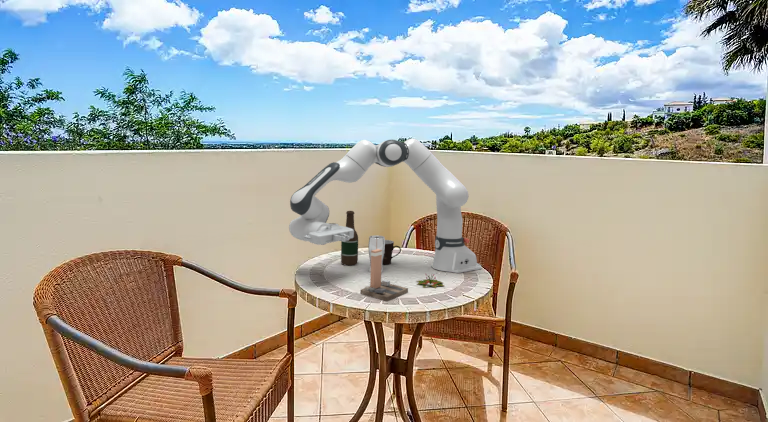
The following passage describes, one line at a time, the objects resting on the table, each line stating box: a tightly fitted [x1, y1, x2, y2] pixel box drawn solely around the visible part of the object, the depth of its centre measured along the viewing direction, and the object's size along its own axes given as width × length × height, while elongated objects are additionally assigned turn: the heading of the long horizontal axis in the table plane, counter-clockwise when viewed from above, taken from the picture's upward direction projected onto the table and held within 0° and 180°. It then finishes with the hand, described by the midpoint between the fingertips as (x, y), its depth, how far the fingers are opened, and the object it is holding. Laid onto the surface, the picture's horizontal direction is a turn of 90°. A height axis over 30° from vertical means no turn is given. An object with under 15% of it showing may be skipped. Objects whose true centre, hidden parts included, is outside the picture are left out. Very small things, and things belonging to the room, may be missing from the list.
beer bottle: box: [340, 210, 359, 267], centre depth 203 cm, size 8×8×24 cm
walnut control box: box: [360, 281, 409, 302], centre depth 166 cm, size 12×13×3 cm
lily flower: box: [416, 273, 445, 289], centre depth 178 cm, size 12×12×5 cm
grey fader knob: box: [381, 279, 391, 286], centre depth 169 cm, size 2×2×2 cm
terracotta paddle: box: [369, 249, 382, 288], centre depth 165 cm, size 2×4×14 cm, turn 143°
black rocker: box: [374, 288, 387, 293], centre depth 160 cm, size 4×2×1 cm, turn 53°
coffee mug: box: [382, 239, 402, 266], centre depth 206 cm, size 12×9×10 cm
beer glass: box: [367, 234, 386, 273], centre depth 193 cm, size 7×7×15 cm
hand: (346, 238), depth 172 cm, fingers closed
